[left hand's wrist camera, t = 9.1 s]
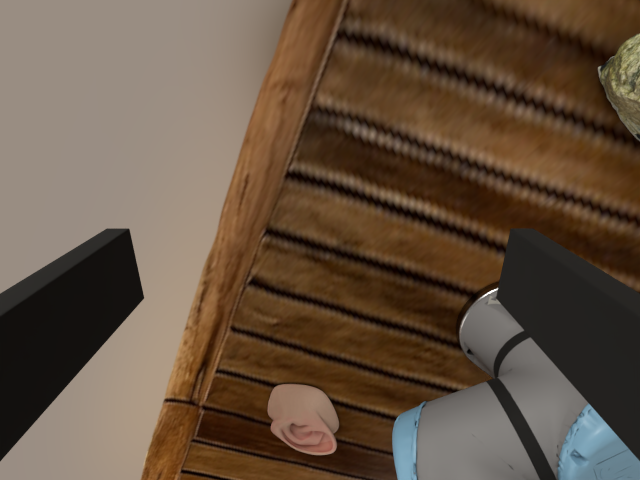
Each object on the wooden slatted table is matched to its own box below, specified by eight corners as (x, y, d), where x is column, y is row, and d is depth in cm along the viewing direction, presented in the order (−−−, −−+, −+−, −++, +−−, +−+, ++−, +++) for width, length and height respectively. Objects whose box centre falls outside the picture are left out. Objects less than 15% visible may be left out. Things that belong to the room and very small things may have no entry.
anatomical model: (255, 406, 54) (329, 396, 54) (259, 387, 58) (328, 377, 57) (275, 465, 59) (343, 456, 58) (278, 443, 63) (341, 434, 62)
